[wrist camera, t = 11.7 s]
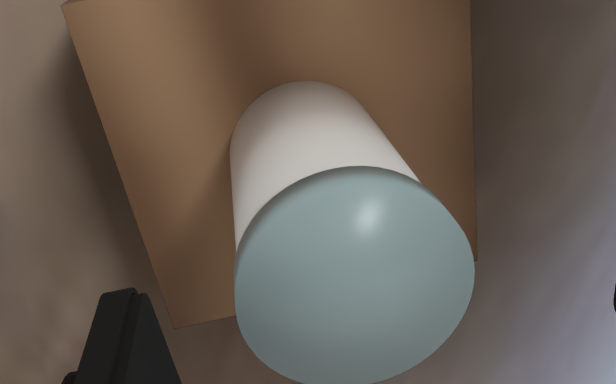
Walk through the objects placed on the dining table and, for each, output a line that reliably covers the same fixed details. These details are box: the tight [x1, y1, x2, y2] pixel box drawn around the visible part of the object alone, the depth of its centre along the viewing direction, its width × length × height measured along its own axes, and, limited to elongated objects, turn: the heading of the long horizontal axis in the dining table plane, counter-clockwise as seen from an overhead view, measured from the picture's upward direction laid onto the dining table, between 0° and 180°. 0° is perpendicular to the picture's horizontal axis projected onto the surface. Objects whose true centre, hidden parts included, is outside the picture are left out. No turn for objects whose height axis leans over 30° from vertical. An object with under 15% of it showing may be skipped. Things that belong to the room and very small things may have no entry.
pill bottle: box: [230, 81, 475, 384], centre depth 16 cm, size 5×5×8 cm
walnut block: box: [60, 0, 477, 329], centre depth 21 cm, size 12×12×5 cm
